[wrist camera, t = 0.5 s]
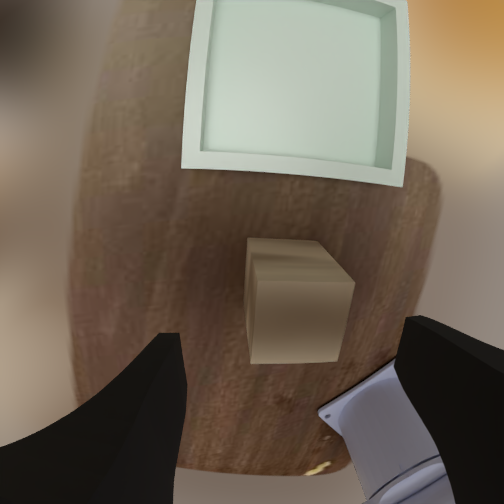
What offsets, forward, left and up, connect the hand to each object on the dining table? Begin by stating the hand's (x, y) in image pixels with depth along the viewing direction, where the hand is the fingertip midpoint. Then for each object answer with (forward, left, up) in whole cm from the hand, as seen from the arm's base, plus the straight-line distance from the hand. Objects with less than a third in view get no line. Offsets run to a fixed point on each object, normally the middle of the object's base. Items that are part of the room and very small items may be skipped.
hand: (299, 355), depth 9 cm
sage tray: (+7, -8, -9) cm, 14 cm away
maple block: (-1, 0, -9) cm, 9 cm away
